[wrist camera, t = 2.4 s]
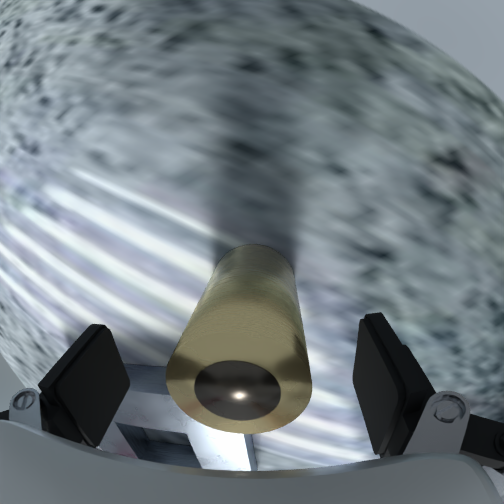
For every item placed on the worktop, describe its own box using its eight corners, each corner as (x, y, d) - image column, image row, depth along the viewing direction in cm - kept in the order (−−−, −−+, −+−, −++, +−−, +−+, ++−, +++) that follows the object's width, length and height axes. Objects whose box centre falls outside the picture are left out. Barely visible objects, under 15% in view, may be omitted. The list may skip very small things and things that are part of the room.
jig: (240, 368, 19) (235, 398, 16) (257, 468, 23) (255, 491, 21) (73, 356, 20) (55, 376, 18) (128, 453, 25) (120, 472, 22)
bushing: (292, 241, 16) (314, 329, 7) (295, 316, 18) (309, 433, 9) (208, 247, 17) (147, 333, 8) (219, 319, 18) (183, 432, 9)
